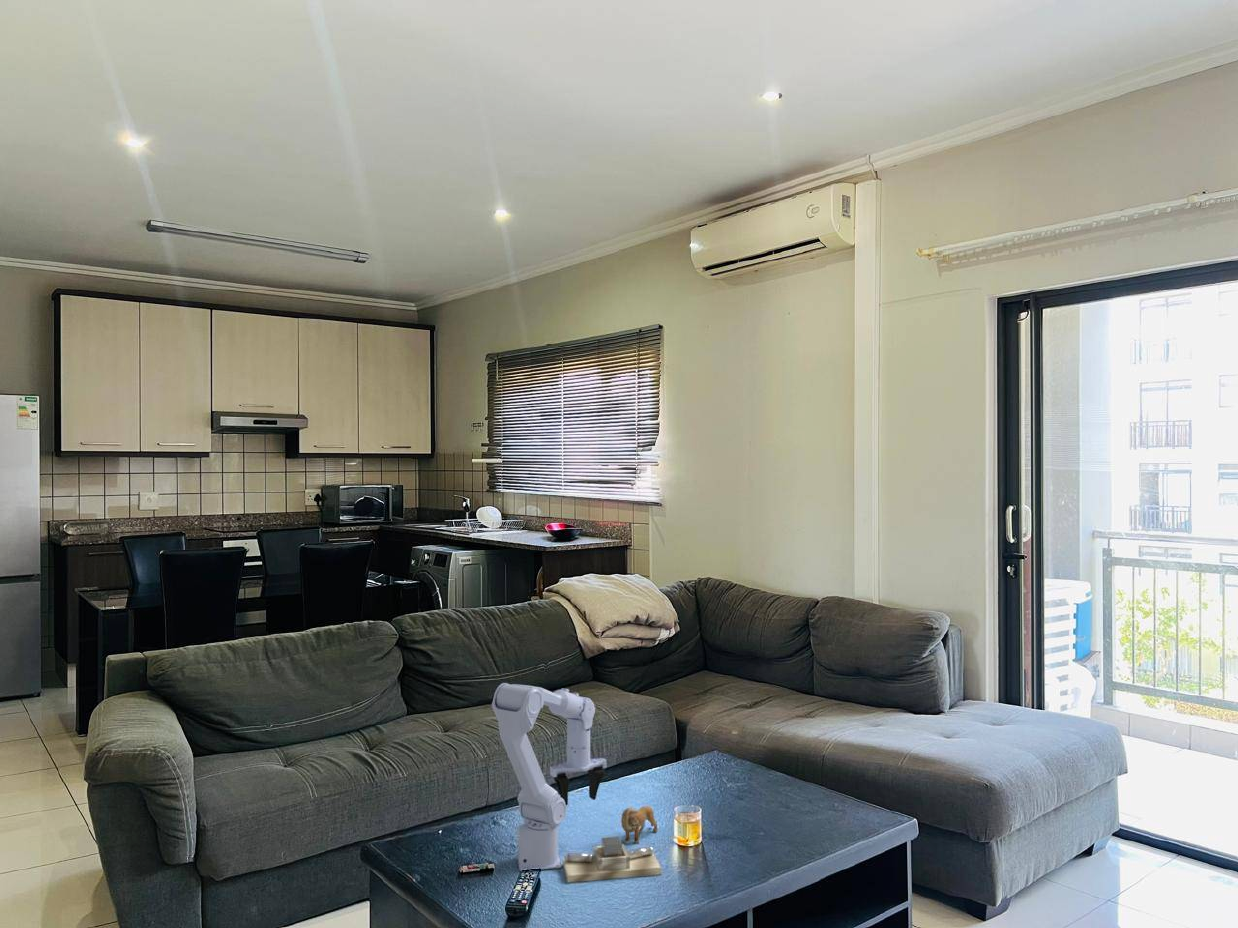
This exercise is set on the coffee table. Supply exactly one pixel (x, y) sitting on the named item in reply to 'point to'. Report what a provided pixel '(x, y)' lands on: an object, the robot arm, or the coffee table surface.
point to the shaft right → (641, 852)
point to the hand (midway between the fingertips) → (578, 800)
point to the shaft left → (578, 857)
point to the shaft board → (611, 867)
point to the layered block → (611, 847)
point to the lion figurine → (637, 821)
